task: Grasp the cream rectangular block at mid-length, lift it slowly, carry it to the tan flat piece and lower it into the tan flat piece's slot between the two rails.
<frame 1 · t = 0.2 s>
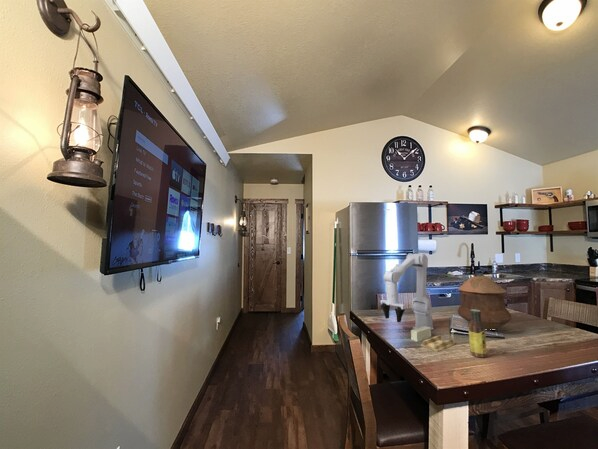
hand: (393, 320, 137), 10 cm above the table, fingers open, 7 cm apart
cream rectangular block: (421, 338, 137), on the table
sauce bottle: (478, 355, 116), on the table
tan flat piece: (437, 345, 128), on the table
pottery vessel: (484, 329, 150), on the table
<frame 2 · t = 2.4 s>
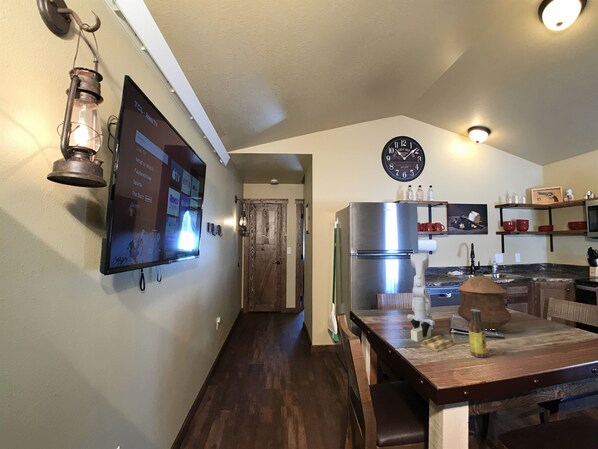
hand: (421, 335, 137), 1 cm above the table, fingers closed on cream rectangular block, 3 cm apart
cream rectangular block: (421, 338, 137), on the table, touching gripper
everything else where it was.
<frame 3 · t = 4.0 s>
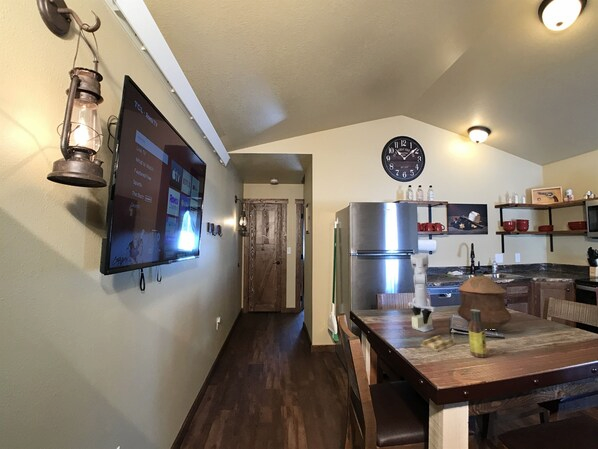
hand: (422, 322, 137), 8 cm above the table, fingers closed on cream rectangular block, 3 cm apart
cream rectangular block: (422, 325, 137), point 7 cm above the table, touching gripper
everything else where it was.
when the fingers open (4 cm above the table, at t = 6.0 s): cream rectangular block drops 2 cm, resting on tan flat piece.
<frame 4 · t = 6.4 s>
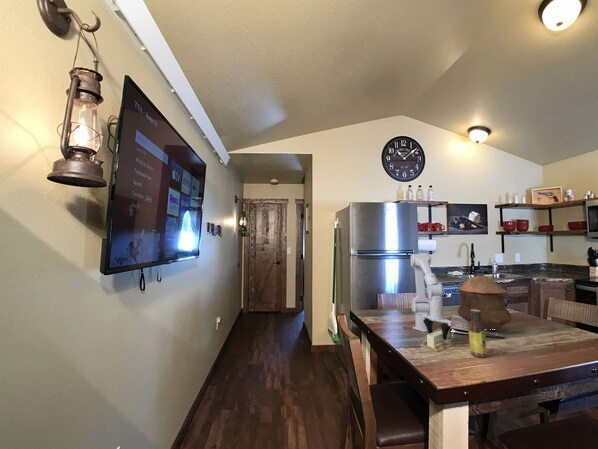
hand: (437, 336, 128), 4 cm above the table, fingers open, 7 cm apart
cream rectangular block: (437, 343, 128), point 1 cm above the table, touching tan flat piece
everything else where it was.
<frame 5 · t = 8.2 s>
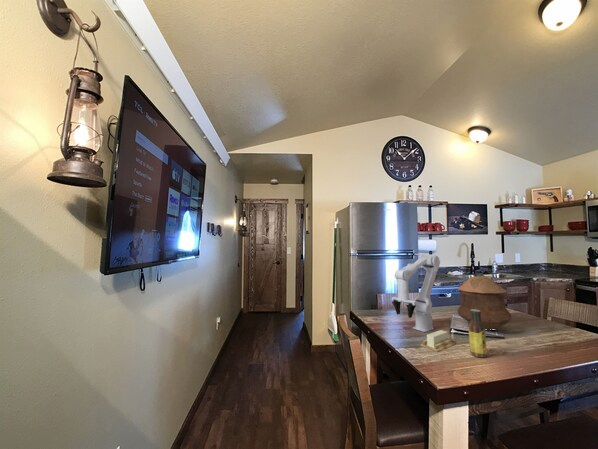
hand: (404, 315, 144), 10 cm above the table, fingers open, 7 cm apart
nothing on the table moved.
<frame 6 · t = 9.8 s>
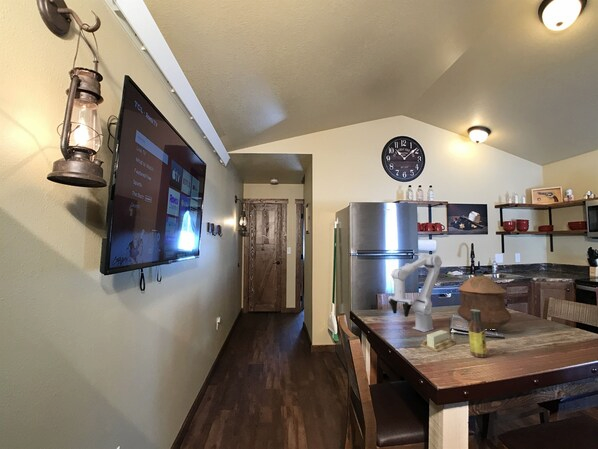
hand: (400, 314, 146), 10 cm above the table, fingers open, 7 cm apart
nothing on the table moved.
at the end: cream rectangular block inside the target area on the tan flat piece (0.1 cm from its centre), point 0.8 cm above the tan flat piece's base; cream rectangular block tilted 0°; the gripper is holding nothing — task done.
